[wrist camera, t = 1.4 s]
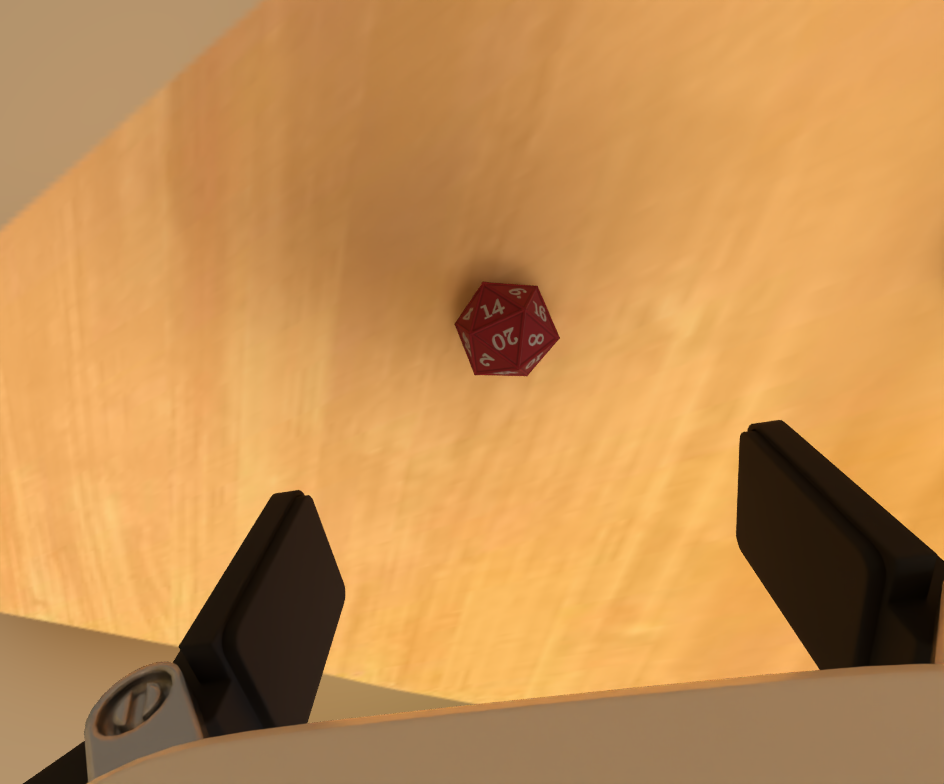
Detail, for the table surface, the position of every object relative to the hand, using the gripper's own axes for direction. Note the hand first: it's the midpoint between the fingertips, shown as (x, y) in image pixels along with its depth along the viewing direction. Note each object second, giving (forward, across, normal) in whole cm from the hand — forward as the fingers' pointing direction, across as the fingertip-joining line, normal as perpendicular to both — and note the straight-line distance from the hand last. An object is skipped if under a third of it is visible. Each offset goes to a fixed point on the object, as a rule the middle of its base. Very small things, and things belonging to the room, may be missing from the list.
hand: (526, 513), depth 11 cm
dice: (+13, 0, -1) cm, 13 cm away
